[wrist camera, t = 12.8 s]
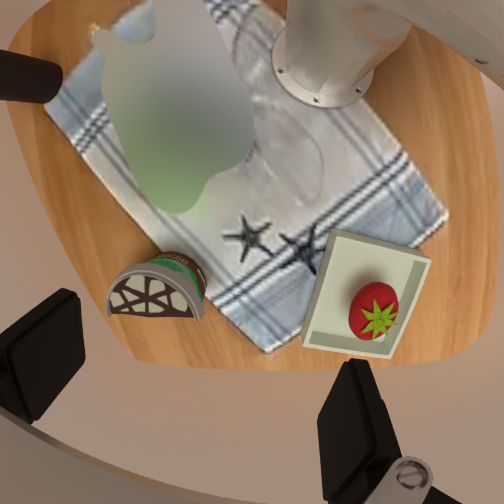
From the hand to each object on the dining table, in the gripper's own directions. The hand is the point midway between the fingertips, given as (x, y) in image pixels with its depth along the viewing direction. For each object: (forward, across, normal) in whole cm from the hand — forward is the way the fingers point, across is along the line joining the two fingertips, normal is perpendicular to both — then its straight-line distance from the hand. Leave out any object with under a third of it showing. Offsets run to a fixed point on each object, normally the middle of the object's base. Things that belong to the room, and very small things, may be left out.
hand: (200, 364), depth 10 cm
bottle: (+31, +36, -14) cm, 49 cm away
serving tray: (+30, -16, +8) cm, 35 cm away
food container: (+31, +10, +10) cm, 34 cm away
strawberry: (+30, -16, +8) cm, 35 cm away
